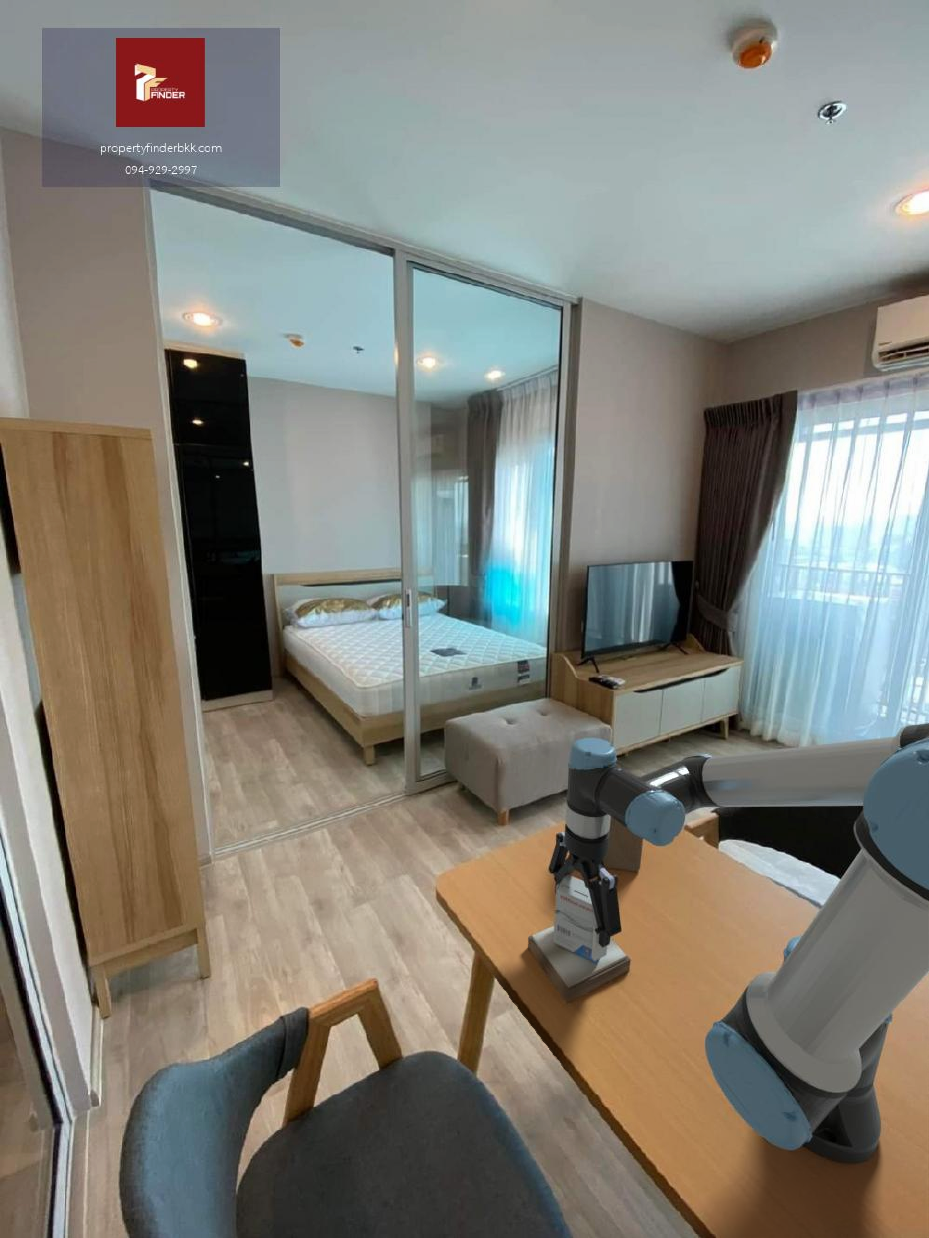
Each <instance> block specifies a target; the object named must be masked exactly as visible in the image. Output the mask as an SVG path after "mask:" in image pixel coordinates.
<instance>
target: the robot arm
mask: <svg viewBox="0 0 929 1238" xmlns="http://www.w3.org/2000/svg"><path fill="white" fill-rule="evenodd" d="M568 760H569V761H568V763H567V766H568V767H567V768H568V771H567V772H568V774H567V775H568V777H567V795H566V805H565V818H564V822H565V823H564V831H561V832H558V833H556V834H555V846H554V849H553V852H552V856H551V859H550V861H549V865H548V873H550V874H551V875H553V880H554V882H555V885H554V888H555V889H554V890H555V891H554V892H555V895H556V888H557V887H558V885H559V884H560V882H561V881H562V879H563V878H564V876H566V875H571V876H572V874H573V873H574V872H575V871H576V872H578V873H579V874H580V876H581V877H582V878H583V880H582V881H584V884H585V887H586V888H588V890H589V894H590V898H591V902H592V906H593V910H594V914H595V918H596V922H597V925H596V926H594V930H593V943H592V955H591V958H592V959H593V960H594V961H595V960H597V959H600V958H602V957H604V956H606V953H607V945H609V944H610V937H611V938H612V937H614V936H617V934H620V933H621V932H622V922H621V921H622V920H621V914H620V907H619V905H620V904H619V896H618V883H619V877H618V875H617V874H616V873H612V874H611V873H609V872H608V871H607V870H606V867H605V864H604V857H605V855H606V853H607V851H608V846H609V834H610V832H609V830H610V820H611V817H612V818H614V819H615V820H617V821H618V822H619V823H621V824H622V825H623V826H625V827H626V828H628V829H629V830H630V831H631V832H632V833H633V834H635V835H637V836H639V837H642V838H643V840H645V841H647V842H648V843H649V844H652V845H653V846H656V847H665V846H669V845H670V844H672V843H673V842H674V839H675V838H676V837H679V835H680V834H681V832H682V830H683V828H684V826H685V822H686V815H688V814H691V813H692V812H694V811H696V810H699V809H703V808H728V807H729V808H732V807H734V808H735V807H737V808H742V807H744V808H746V807H747V808H749V807H751V808H752V807H756V808H757V807H849V806H851V807H854V806H855V807H856V806H857V807H858V806H861V807H863V808H862V810H861V812H860V814H858V815H859V816H858V817H857V818H856V820H855V822H854V825H853V833H854V837H855V839H856V841H857V843H858V845H859V847H860V851H859V852H858V853H857V855H856V856H855V858H854V860H853V861H852V862H851V864H850V865H849V867H848V868H847V870H845V873H844V874H843V875H842V877H841V878H840V880H839V881H838V883H837V884H836V885H835V887H834V889H833V890H832V891H831V893H830V894H829V896H828V898H827V899H826V900H825V902H824V903H823V905H822V906H821V907H820V908H819V909H820V910H818V912H817V914H816V915H814V916H815V917H814V918H813V919H812V921H811V922H810V924H809V926H808V927H807V928H806V930H805V931H804V933H803V934H802V935H798V936H795V937H791V939H790V940H789V941H788V942H787V945H786V946H785V948H784V950H783V961H782V964H781V966H780V967H779V969H778V971H776V972H775V971H774V972H773V971H766V972H762V973H759V974H757V975H755V976H754V977H753V978H752V979H751V980H750V982H749V984H747V986H746V988H745V989H744V990H743V992H742V994H741V995H740V997H739V998H738V1000H737V1001H736V1002H735V1004H734V1006H733V1007H732V1008H731V1009H730V1011H729V1012H728V1013H727V1014H726V1015H724V1016H723V1018H721V1019H720V1020H719V1021H717V1020H716V1021H715V1022H713V1024H712V1027H711V1029H710V1030H709V1031H707V1034H706V1035H705V1039H704V1050H705V1052H704V1053H705V1056H706V1060H707V1063H708V1066H709V1067H710V1068H711V1069H710V1070H711V1071H712V1075H713V1078H714V1079H715V1081H716V1083H717V1084H718V1085H717V1086H719V1088H720V1090H721V1092H722V1093H723V1095H724V1096H725V1098H726V1100H728V1102H729V1103H730V1104H731V1106H732V1107H733V1109H734V1110H735V1111H736V1112H737V1114H738V1115H739V1116H740V1118H742V1120H743V1121H744V1122H745V1123H746V1124H747V1125H748V1126H749V1127H750V1128H751V1129H753V1130H754V1131H755V1132H756V1134H758V1136H760V1137H763V1138H764V1139H766V1140H767V1142H769V1143H770V1144H771V1145H774V1146H775V1147H777V1148H779V1149H782V1150H787V1151H795V1150H798V1149H799V1148H800V1147H802V1146H804V1147H805V1148H807V1149H808V1150H810V1151H811V1152H813V1153H815V1154H817V1155H819V1156H821V1157H824V1158H825V1159H829V1160H831V1161H835V1162H837V1163H838V1162H839V1163H842V1164H843V1163H844V1164H857V1163H858V1164H859V1163H862V1162H865V1161H867V1160H868V1159H870V1158H871V1157H872V1156H873V1155H874V1153H875V1152H876V1150H877V1148H878V1145H879V1141H880V1137H881V1132H882V1119H881V1113H880V1109H879V1105H878V1100H877V1099H878V1098H877V1094H876V1091H875V1089H876V1088H875V1086H874V1083H875V1079H876V1075H877V1072H878V1067H879V1063H880V1059H881V1056H882V1053H883V1047H884V1044H885V1040H886V1037H887V1033H888V1029H889V1025H890V1023H891V1022H892V1021H893V1012H894V1011H895V1010H896V1008H897V1007H898V1006H899V1005H900V1004H901V1003H902V1002H903V1001H904V999H905V998H906V997H907V996H909V994H910V993H911V992H912V991H913V989H914V988H915V987H916V986H917V985H918V984H919V983H920V982H921V981H922V980H923V978H924V977H925V976H926V975H927V974H928V973H929V722H925V723H919V724H912V725H905V726H903V727H901V728H900V730H899V731H898V732H897V734H896V736H887V737H879V738H869V739H861V740H851V741H841V742H832V743H824V744H815V745H806V746H805V745H804V746H798V747H788V748H779V749H769V750H761V751H751V752H743V753H742V752H741V753H733V754H725V755H715V756H713V755H710V754H708V753H699V754H696V755H690V756H686V757H684V758H683V759H681V760H679V761H677V762H674V763H672V764H669V765H667V766H664V767H662V768H659V769H657V770H654V771H652V772H648V773H646V774H644V775H641V777H639V776H636V775H635V774H636V773H632V772H631V771H629V770H628V769H625V768H624V767H622V766H620V765H619V764H617V761H618V758H617V749H616V748H615V747H614V746H613V744H612V743H611V742H609V741H607V740H604V739H601V738H597V737H584V738H581V739H577V740H576V741H574V742H573V743H572V744H571V747H570V752H569V759H568ZM568 853H569V854H568ZM591 880H592V881H591Z"/></svg>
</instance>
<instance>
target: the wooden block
mask: <svg viewBox="0 0 929 1238" xmlns="http://www.w3.org/2000/svg"><path fill="white" fill-rule="evenodd" d="M634 774H635V775H636V776H639V777H641V776H642V775H641V774H639V773H634ZM609 832H610V834H609V846H608V851H607V853H606V855H605V857H604V864H605V868H608V869H616V870H621V871H627V872H628V871H629V872H635V873H636V872H640V869H641V864H642V854H643V844H644V839H643V838H642V837H639V836H637V835H635V834H633V833H632V832H631V831H630V830H629V829H628V828H626V827H625V826H623V825H622V824H621V823H619V822H618V821H617V820H615V819H614V818H612V817H611V820H610V830H609Z"/></svg>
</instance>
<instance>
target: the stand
mask: <svg viewBox="0 0 929 1238" xmlns="http://www.w3.org/2000/svg"><path fill="white" fill-rule="evenodd" d="M553 934H554V925H552V926H550V927H548V928H545V929H543V930H541V931H539V932H536V933H533V934H531V935H529V936H528V939H527V948H528V949H530V950H529V951H530V953H531V954H532V955H533V957H534V956H535V957H534V958H535V959H536V961H537V962H538V964H539V965H540V967H541V968H542V970H543V971H544V972H545V974H546V976H547V977H548V978H549V980H550V981H551V983H552V984H553V985H554V987H555V988H556V989H557V991H558V992H559V994H560V995H561V996H562V998H563V999H564V1002H565V1003H567V1004H568V1003H570V1002H572V1001H574V1000H575V999H578V998H579V997H582V996H583V995H585V994H587V993H589V992H591V991H592V990H595V989H596V988H599V987H601V986H602V985H604V984H607V983H608V982H609V981H612V980H614V979H616V978H618V977H619V976H621V975H623V974H625V973H627V972H629V971H630V968H631V961H632V960H631V958H630V957H629V956H628V955H627V954H626V952H625V951H624V950H623V949H622V948H621V947H620V946H619V945H618V944H617V942H616V941H614V939H613V938H612V936H611V937H610V944H609V945H607V953H606V956H604V957H602V958H600V960H599V962H598V963H595V962H592V961H590V960H588V959H586V958H584V957H582V956H580V955H578V954H576V953H574V952H572V951H570V950H568V949H566V948H564V947H562V946H560V945H558V944H556V943H554V942H553Z"/></svg>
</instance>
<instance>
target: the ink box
mask: <svg viewBox="0 0 929 1238" xmlns="http://www.w3.org/2000/svg"><path fill="white" fill-rule="evenodd" d="M554 906H555V907H554V921H553V926H554V934H553V942H554V943H556V944H558V945H560V946H562V947H564V948H566V949H568V950H570V951H572V952H574V953H576V954H578V955H580V956H582V957H584V958H586V959H588V960H590V961H592V962H595V963H598V962H599V960H600V959H597V960H595V961H594V960H593V959H592V958H591V955H592V943H593V930H594V926H596V925H597V922H596V918H595V914H594V910H593V906H592V902H591V898H590V894H589V890H588V888H586V887H585V884H584V880H582V879H580V878H577V877H575V876H573V875H572V874H571V875H566V876H564V878H563V879H562V881H561V882H560V884H559V885H558V887H557V888H556V894H555V905H554Z"/></svg>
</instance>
